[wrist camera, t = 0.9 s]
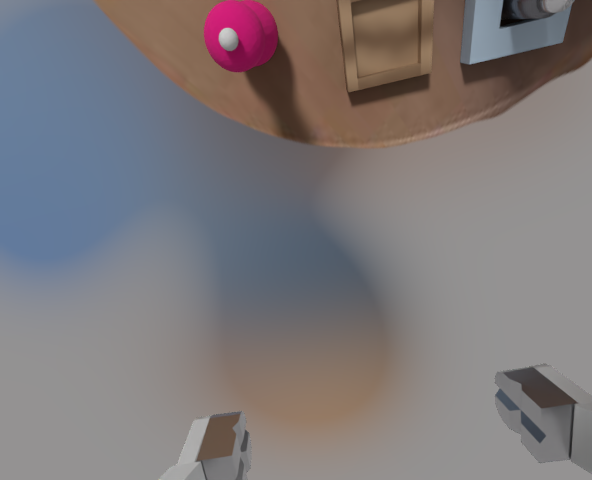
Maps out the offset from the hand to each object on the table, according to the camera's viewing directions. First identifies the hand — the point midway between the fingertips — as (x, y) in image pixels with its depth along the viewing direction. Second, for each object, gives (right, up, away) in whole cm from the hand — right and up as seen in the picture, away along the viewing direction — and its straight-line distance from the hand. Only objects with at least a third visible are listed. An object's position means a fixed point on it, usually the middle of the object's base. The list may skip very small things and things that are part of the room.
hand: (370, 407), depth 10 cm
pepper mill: (-8, +35, +34) cm, 49 cm away
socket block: (+27, +38, +31) cm, 56 cm away
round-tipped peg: (+27, +38, +31) cm, 56 cm away
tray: (+10, +35, +33) cm, 49 cm away
